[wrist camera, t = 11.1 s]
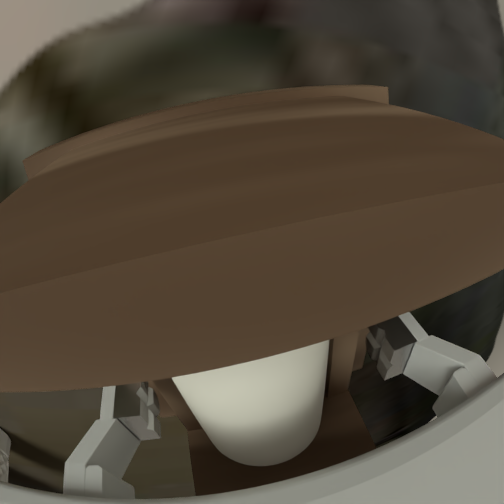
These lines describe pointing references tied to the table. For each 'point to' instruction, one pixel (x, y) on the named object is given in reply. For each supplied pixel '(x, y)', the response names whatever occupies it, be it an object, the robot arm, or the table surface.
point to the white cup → (4, 455)
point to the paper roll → (261, 404)
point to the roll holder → (241, 249)
